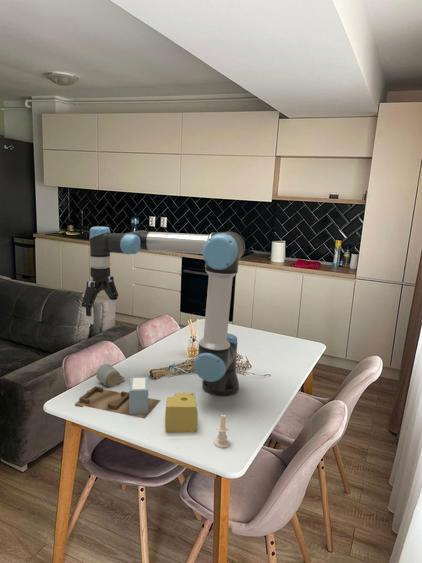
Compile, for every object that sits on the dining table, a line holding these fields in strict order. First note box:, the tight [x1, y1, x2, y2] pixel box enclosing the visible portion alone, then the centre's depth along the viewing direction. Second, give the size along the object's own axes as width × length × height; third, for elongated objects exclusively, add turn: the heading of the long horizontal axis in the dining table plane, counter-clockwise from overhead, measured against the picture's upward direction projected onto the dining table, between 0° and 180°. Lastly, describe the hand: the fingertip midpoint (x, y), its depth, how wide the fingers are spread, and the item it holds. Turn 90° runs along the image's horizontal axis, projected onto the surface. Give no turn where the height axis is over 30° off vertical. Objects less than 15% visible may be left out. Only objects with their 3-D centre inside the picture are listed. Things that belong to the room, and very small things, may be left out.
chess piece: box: [213, 413, 231, 449], centre depth 135 cm, size 5×5×10 cm
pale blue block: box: [128, 376, 149, 415], centre depth 155 cm, size 11×6×9 cm, turn 8°
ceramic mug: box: [95, 363, 126, 388], centre depth 174 cm, size 11×8×8 cm
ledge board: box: [74, 385, 161, 419], centre depth 158 cm, size 28×14×3 cm, turn 73°
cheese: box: [164, 392, 199, 433], centre depth 144 cm, size 10×11×10 cm
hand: (101, 319), depth 169 cm, fingers open, 13 cm apart
